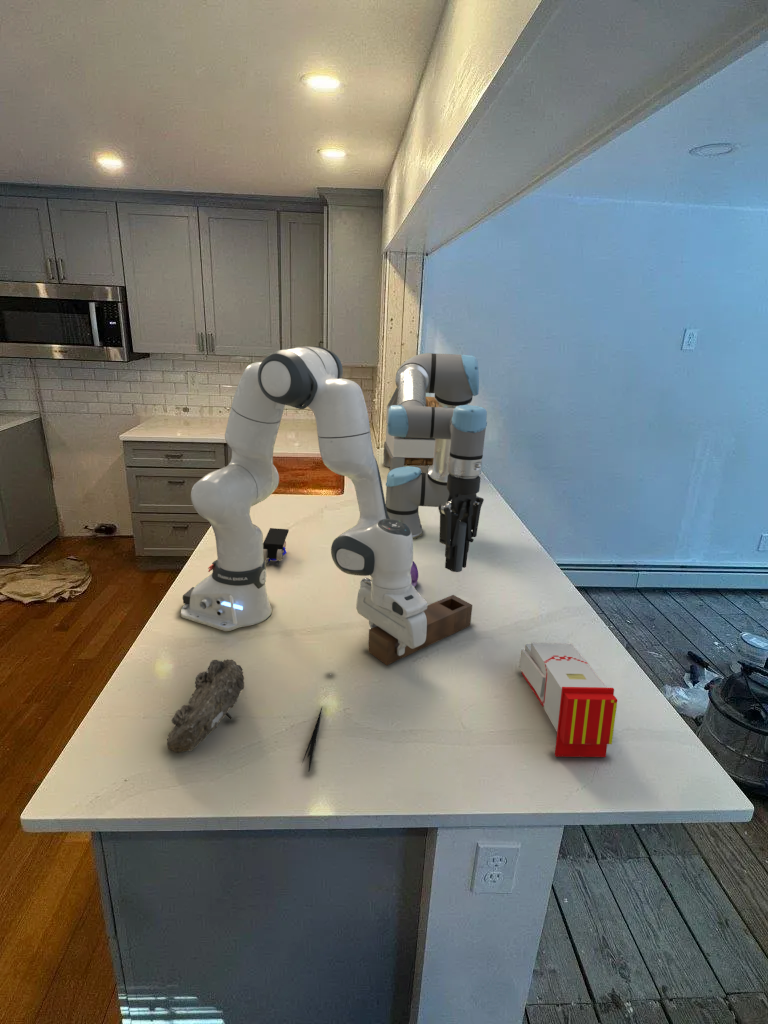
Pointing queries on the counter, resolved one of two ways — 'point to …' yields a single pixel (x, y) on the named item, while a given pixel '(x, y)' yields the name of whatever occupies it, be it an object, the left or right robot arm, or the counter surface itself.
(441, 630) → the peg board
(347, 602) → the counter surface
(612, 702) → the toy
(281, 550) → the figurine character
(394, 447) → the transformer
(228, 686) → the fossil
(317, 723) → the feather
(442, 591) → the counter surface
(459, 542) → the peg
